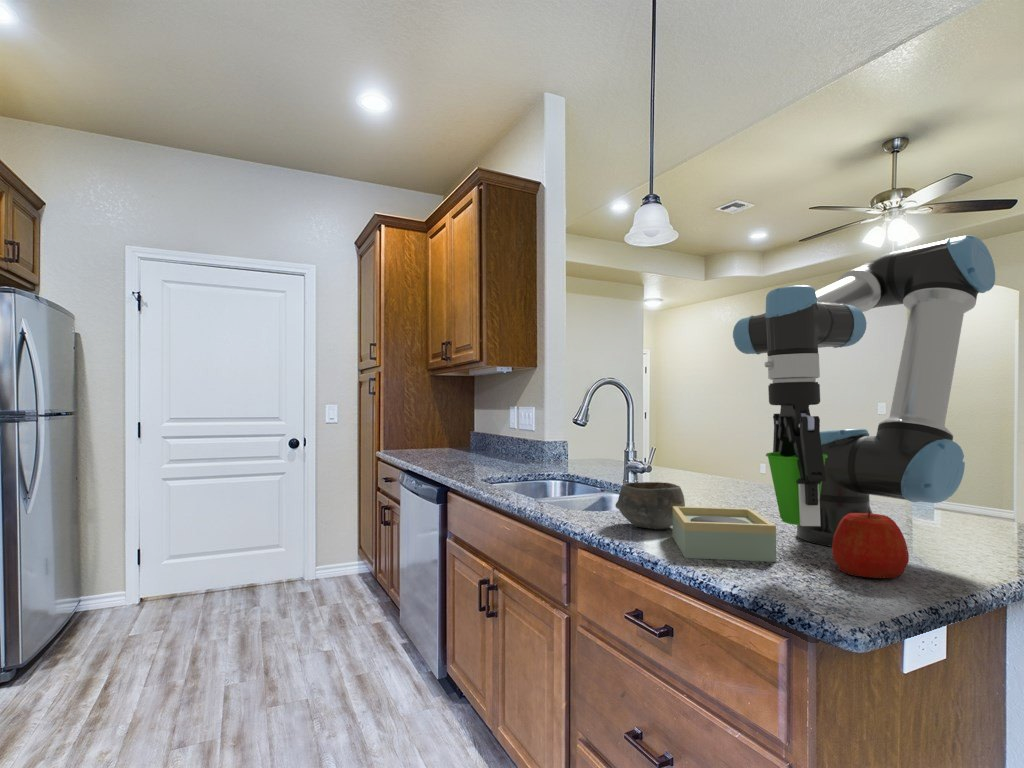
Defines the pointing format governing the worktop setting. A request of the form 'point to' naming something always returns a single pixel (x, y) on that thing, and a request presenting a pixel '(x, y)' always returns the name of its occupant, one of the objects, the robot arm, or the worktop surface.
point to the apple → (869, 546)
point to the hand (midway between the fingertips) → (798, 518)
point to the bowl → (650, 503)
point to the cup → (787, 485)
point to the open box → (724, 534)
